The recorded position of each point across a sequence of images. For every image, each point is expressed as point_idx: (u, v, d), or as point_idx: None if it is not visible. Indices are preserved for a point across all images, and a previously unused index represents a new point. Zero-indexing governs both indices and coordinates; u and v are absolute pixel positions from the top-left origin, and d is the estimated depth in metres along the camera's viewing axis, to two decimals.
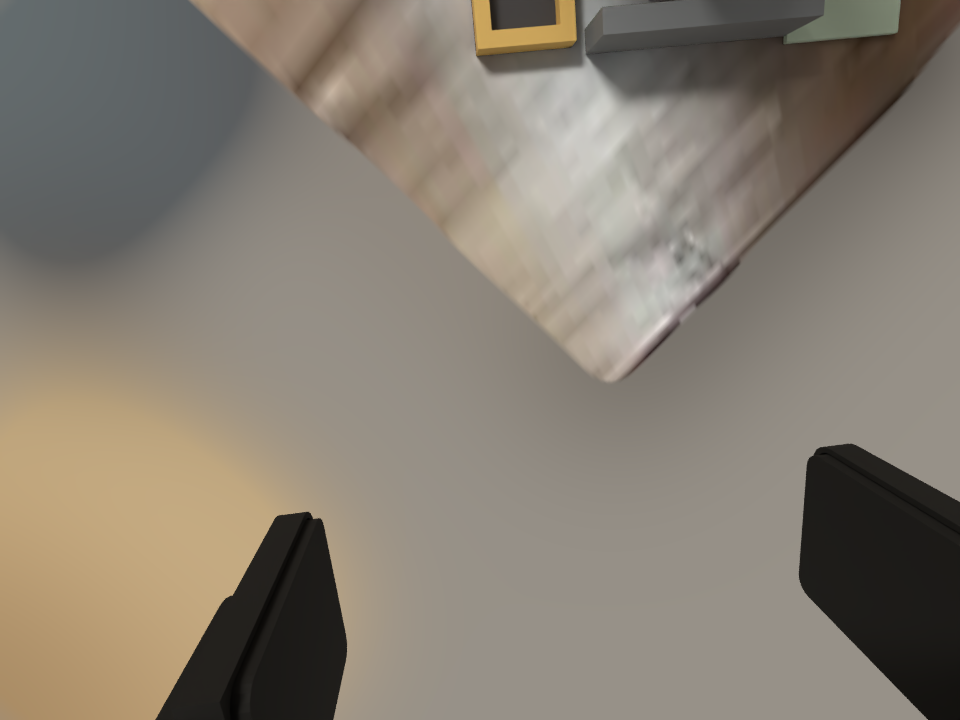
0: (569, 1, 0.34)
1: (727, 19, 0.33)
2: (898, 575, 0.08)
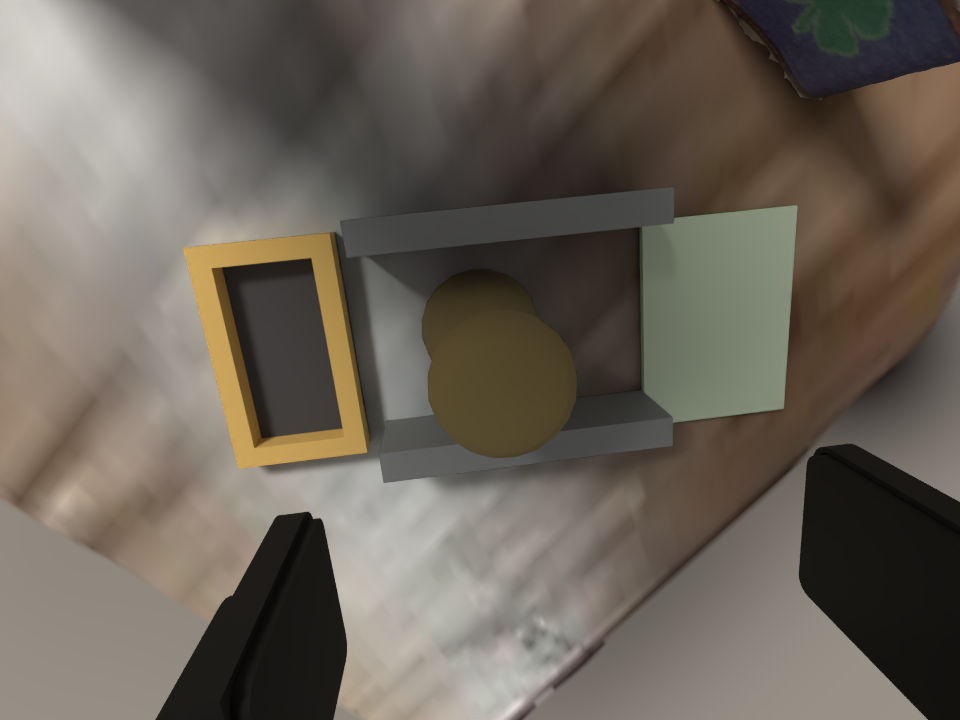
0: (353, 412, 0.26)
1: (546, 457, 0.25)
2: (898, 575, 0.08)
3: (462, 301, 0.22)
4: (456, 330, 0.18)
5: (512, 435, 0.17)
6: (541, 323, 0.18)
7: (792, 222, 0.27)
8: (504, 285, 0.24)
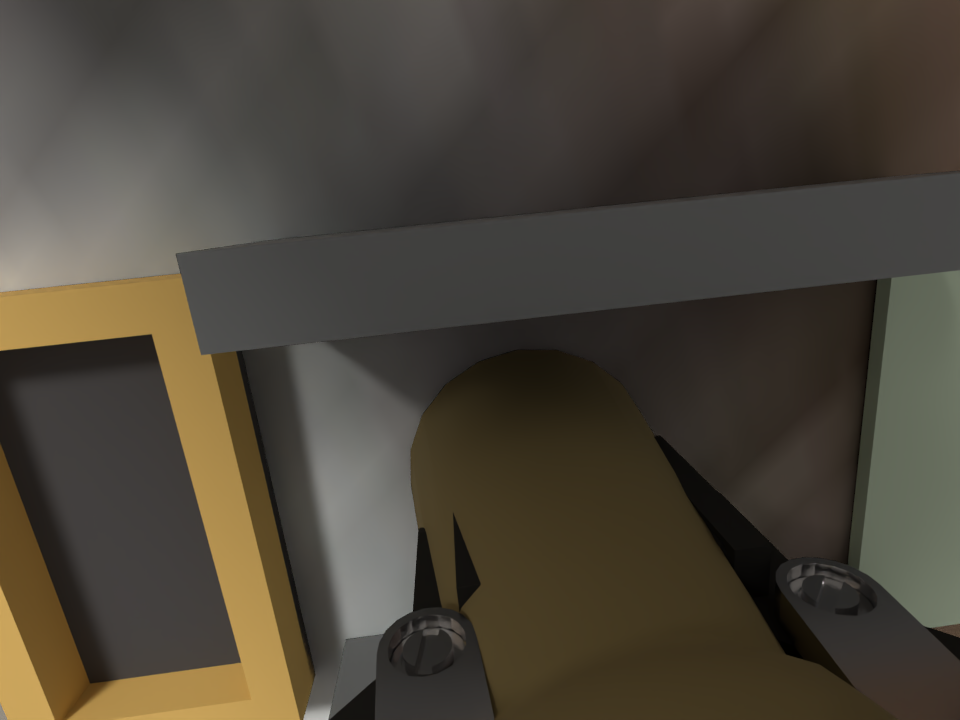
0: (267, 654, 0.12)
1: None
2: None
3: (514, 470, 0.08)
4: None
5: None
6: None
7: None
8: (606, 405, 0.10)
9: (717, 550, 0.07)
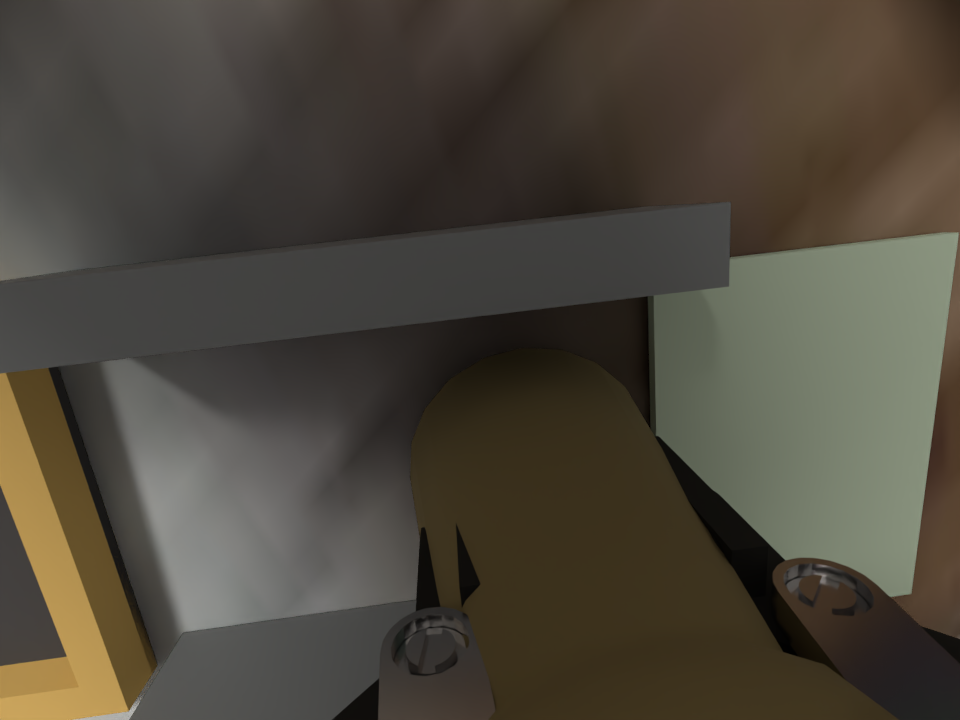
0: (89, 645, 0.14)
1: None
2: None
3: (520, 466, 0.08)
4: None
5: None
6: None
7: (946, 266, 0.14)
8: (610, 405, 0.10)
9: (720, 552, 0.07)
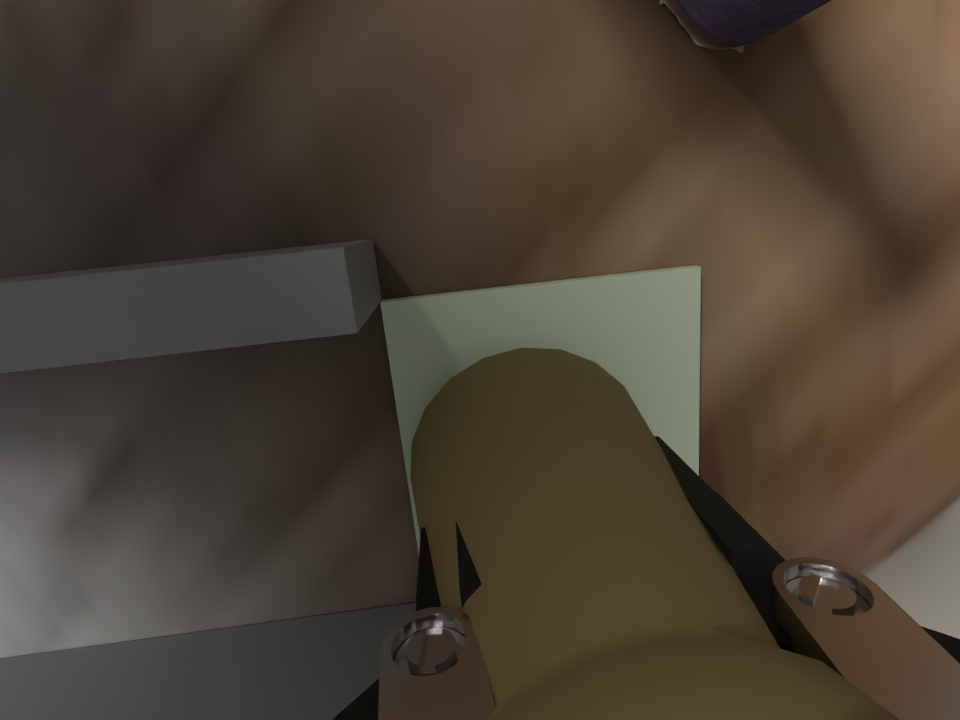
0: None
1: None
2: None
3: (518, 465, 0.08)
4: None
5: None
6: None
7: (692, 300, 0.13)
8: (609, 405, 0.10)
9: (718, 550, 0.07)
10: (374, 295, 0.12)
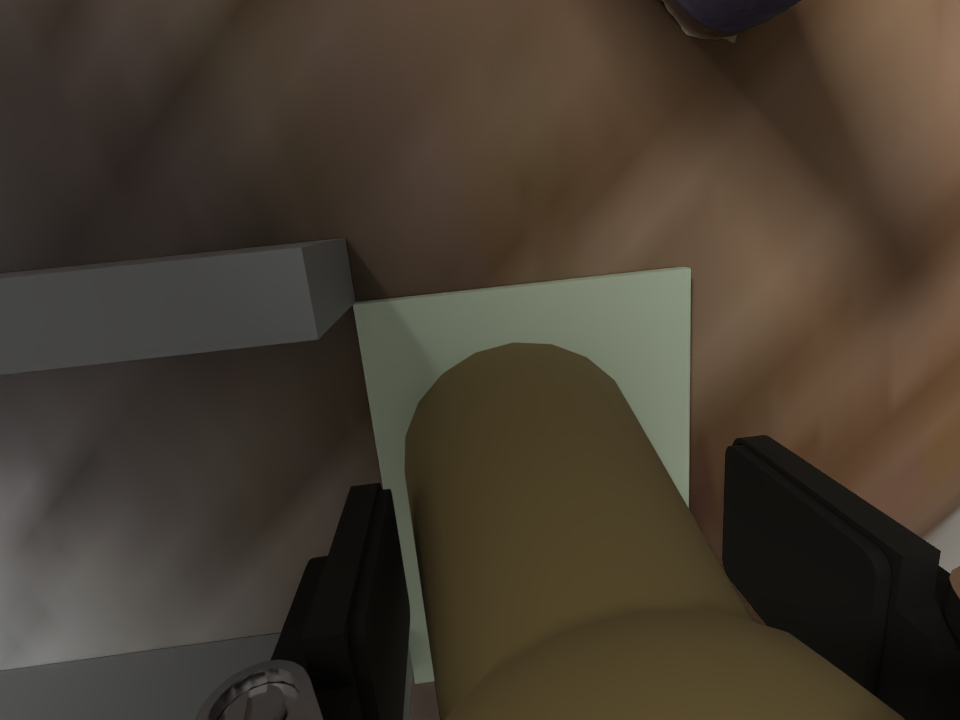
0: None
1: None
2: (792, 554, 0.09)
3: (506, 454, 0.09)
4: None
5: None
6: None
7: (682, 303, 0.13)
8: (598, 397, 0.11)
9: (699, 534, 0.07)
10: (344, 297, 0.11)
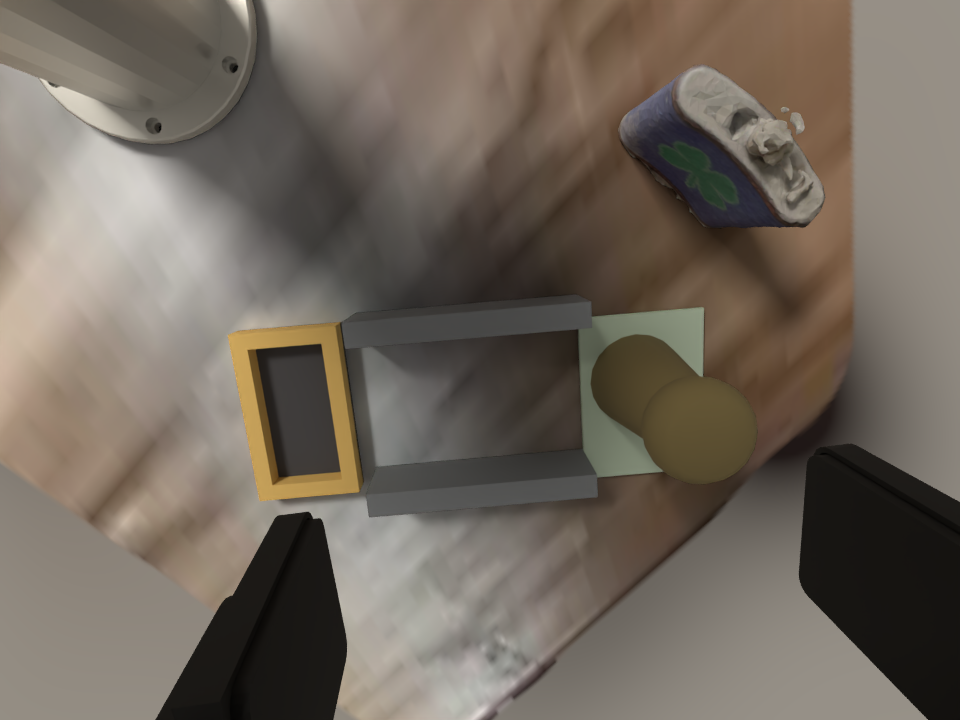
0: (349, 460, 0.34)
1: (496, 502, 0.32)
2: (898, 575, 0.08)
3: (647, 361, 0.30)
4: (675, 388, 0.25)
5: (712, 467, 0.24)
6: None
7: (700, 321, 0.34)
8: (671, 351, 0.32)
9: None
10: None
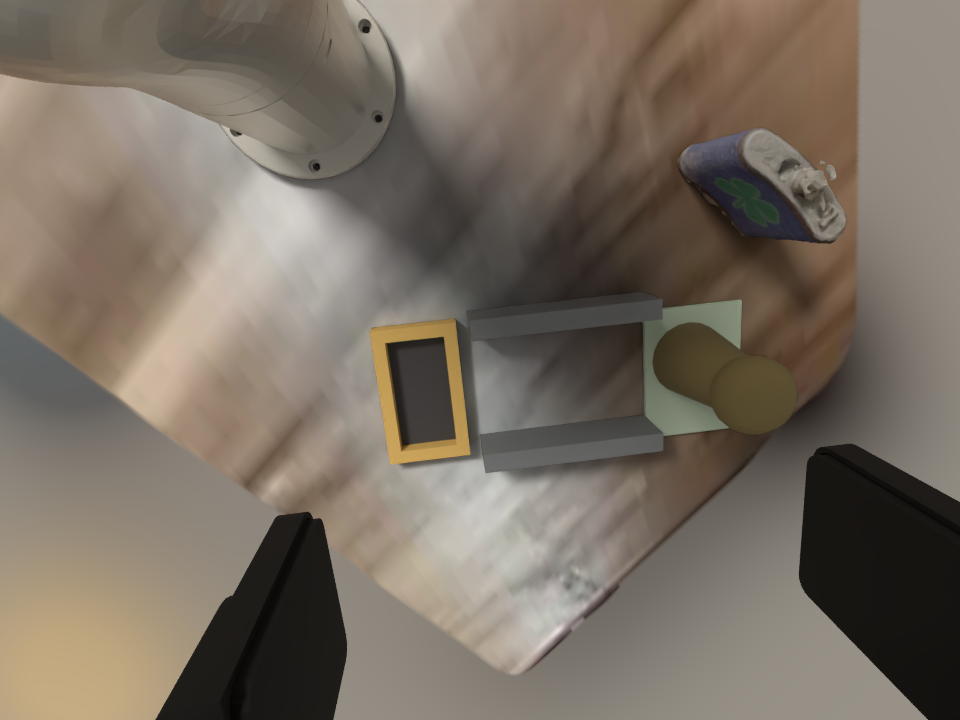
0: (463, 429, 0.42)
1: (585, 458, 0.41)
2: (898, 575, 0.08)
3: (706, 344, 0.38)
4: (737, 365, 0.33)
5: (766, 421, 0.33)
6: None
7: (738, 310, 0.43)
8: (719, 335, 0.40)
9: None
10: None
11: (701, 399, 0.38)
